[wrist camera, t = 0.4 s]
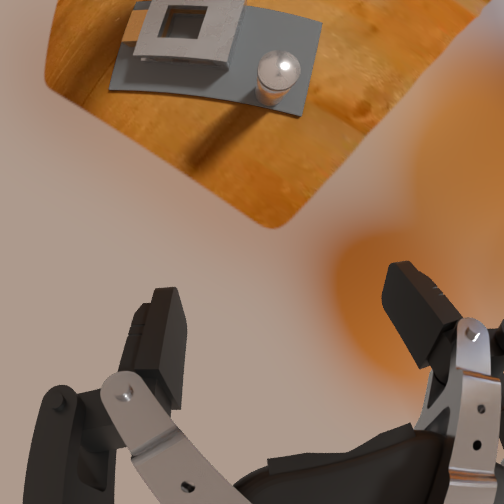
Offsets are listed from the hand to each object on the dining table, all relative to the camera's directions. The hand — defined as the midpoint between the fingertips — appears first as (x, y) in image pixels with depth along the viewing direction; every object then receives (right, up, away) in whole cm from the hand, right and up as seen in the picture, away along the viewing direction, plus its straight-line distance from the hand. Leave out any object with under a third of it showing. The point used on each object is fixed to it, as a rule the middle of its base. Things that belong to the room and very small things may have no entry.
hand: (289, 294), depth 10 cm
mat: (-6, +28, +18) cm, 34 cm away
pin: (+1, +21, +20) cm, 29 cm away
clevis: (-9, +30, +17) cm, 35 cm away
